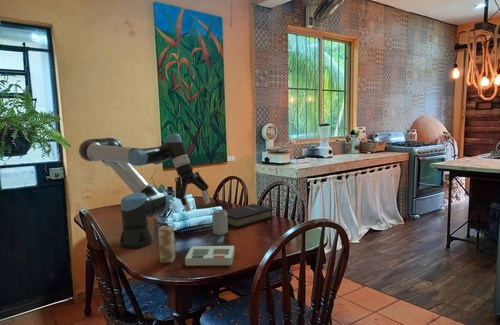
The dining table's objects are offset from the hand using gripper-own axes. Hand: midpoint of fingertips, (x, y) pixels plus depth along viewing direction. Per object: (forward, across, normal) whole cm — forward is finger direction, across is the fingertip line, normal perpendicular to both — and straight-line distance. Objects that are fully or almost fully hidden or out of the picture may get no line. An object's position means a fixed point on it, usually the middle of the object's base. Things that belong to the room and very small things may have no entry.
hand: (198, 207), depth 164 cm
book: (+17, +41, +11) cm, 46 cm away
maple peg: (+16, -24, +3) cm, 29 cm away
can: (+17, +14, +6) cm, 23 cm away
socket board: (+22, -14, -10) cm, 28 cm away
